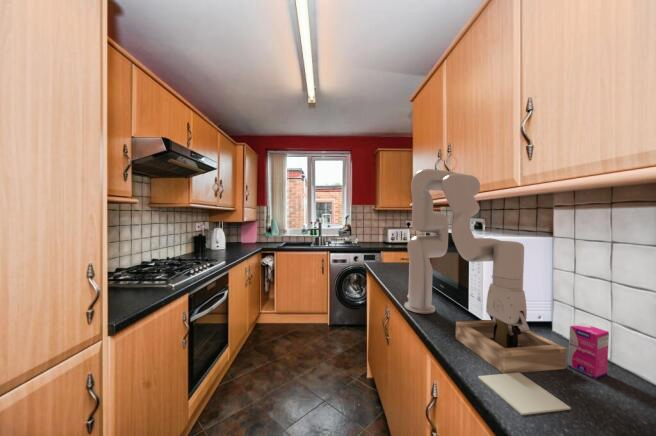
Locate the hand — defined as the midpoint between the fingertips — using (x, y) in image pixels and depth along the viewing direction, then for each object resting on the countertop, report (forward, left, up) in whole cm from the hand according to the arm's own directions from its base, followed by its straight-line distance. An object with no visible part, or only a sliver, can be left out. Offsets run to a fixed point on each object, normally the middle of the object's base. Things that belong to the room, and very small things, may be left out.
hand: (505, 342), depth 76 cm
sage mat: (+16, -12, -3) cm, 20 cm away
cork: (0, 0, -3) cm, 3 cm away
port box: (0, 0, -3) cm, 3 cm away
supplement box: (+11, +14, -3) cm, 18 cm away
